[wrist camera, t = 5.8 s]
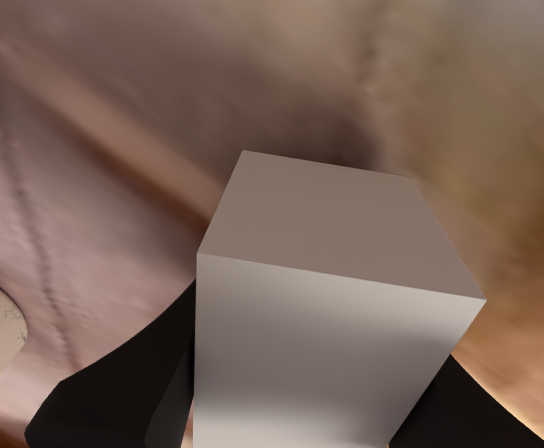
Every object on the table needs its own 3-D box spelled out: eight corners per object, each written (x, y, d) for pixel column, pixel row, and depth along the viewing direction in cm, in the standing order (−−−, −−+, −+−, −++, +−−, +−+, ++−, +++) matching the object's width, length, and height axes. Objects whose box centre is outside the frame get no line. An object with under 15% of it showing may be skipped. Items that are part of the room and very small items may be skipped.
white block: (411, 177, 12) (487, 300, 7) (344, 345, 17) (359, 484, 12) (242, 149, 12) (196, 252, 7) (226, 325, 17) (192, 458, 12)
